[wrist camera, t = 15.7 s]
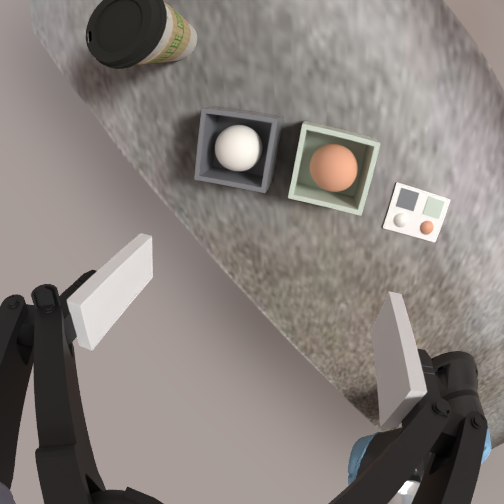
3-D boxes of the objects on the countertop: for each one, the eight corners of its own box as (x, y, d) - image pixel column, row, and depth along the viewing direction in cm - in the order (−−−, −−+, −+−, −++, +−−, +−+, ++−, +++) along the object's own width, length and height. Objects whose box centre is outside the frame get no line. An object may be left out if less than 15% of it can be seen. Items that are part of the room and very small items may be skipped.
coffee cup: (213, 64, 37) (162, 52, 24) (151, 79, 39) (85, 80, 26) (205, 4, 33) (154, -30, 20) (144, 22, 35) (79, 5, 22)
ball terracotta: (348, 189, 41) (354, 202, 35) (305, 179, 41) (305, 191, 36) (358, 147, 38) (367, 154, 33) (314, 136, 38) (316, 142, 33)
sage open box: (356, 200, 42) (361, 215, 36) (292, 185, 43) (287, 198, 38) (372, 137, 37) (380, 143, 32) (304, 120, 38) (302, 123, 33)
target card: (434, 242, 42) (435, 242, 41) (382, 227, 43) (383, 228, 42) (450, 199, 38) (450, 200, 38) (396, 182, 39) (397, 182, 39)
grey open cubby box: (272, 181, 43) (265, 193, 38) (209, 169, 44) (194, 179, 39) (283, 116, 39) (278, 118, 33) (217, 106, 40) (201, 108, 34)
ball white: (262, 170, 42) (252, 180, 37) (220, 162, 43) (205, 171, 37) (269, 127, 39) (260, 130, 34) (226, 120, 40) (210, 123, 35)
